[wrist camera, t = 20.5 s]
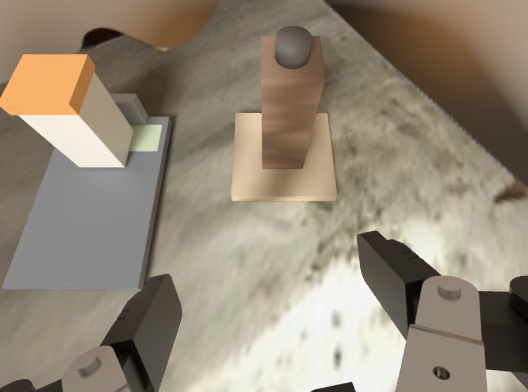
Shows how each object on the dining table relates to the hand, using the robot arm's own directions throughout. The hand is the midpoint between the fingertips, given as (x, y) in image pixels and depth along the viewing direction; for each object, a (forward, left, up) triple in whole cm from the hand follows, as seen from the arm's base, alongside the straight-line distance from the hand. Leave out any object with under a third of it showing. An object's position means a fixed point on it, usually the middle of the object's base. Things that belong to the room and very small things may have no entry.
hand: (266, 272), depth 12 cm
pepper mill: (+2, +12, -9) cm, 16 cm away
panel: (-14, +8, -10) cm, 20 cm away
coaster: (+2, +12, -10) cm, 16 cm away
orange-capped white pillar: (-14, +13, -9) cm, 21 cm away
